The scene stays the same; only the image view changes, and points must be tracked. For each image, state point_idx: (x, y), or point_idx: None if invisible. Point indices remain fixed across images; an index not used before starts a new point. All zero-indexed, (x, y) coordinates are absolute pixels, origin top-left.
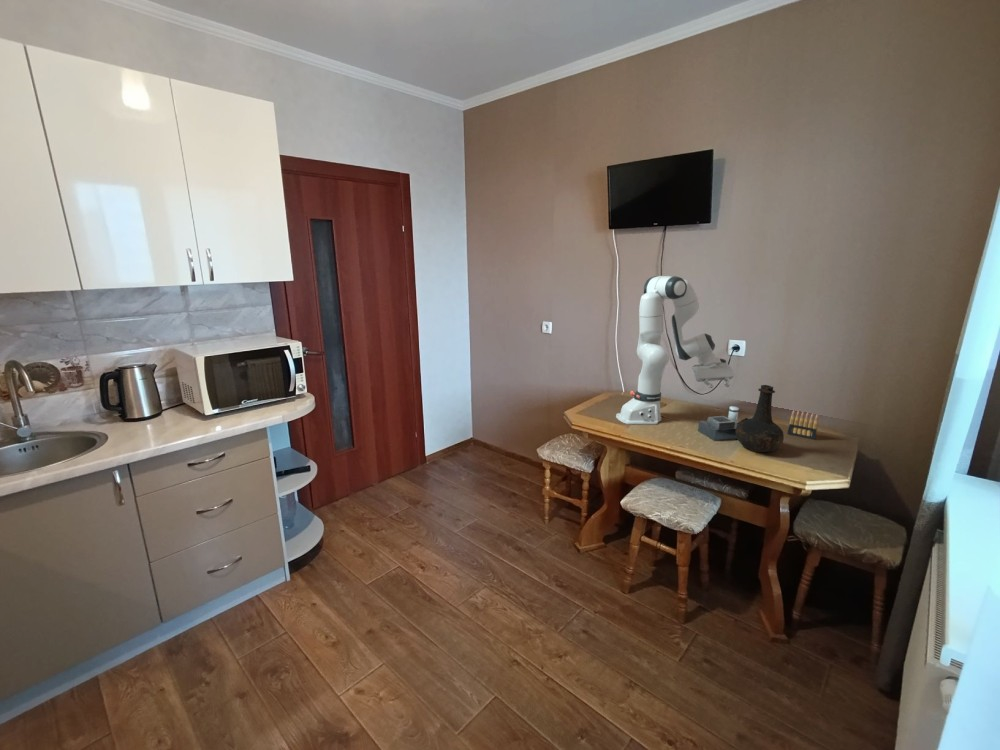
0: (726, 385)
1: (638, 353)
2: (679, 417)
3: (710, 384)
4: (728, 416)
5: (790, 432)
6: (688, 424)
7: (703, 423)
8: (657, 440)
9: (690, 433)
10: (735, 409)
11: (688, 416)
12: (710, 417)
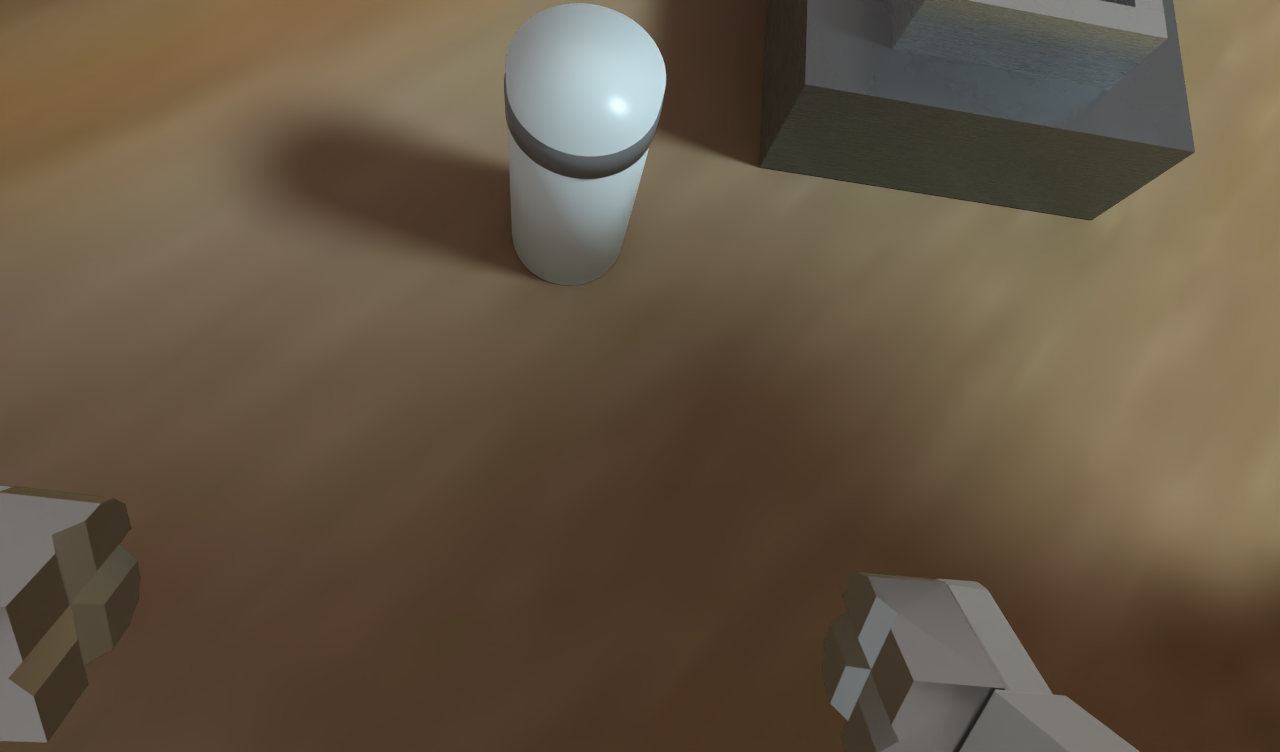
0: (107, 553)
1: None
2: (1085, 709)
3: (995, 649)
4: (630, 204)
5: None
6: (1094, 425)
7: (1181, 71)
8: None
9: (1199, 195)
10: (620, 22)
11: None
12: (1144, 15)
